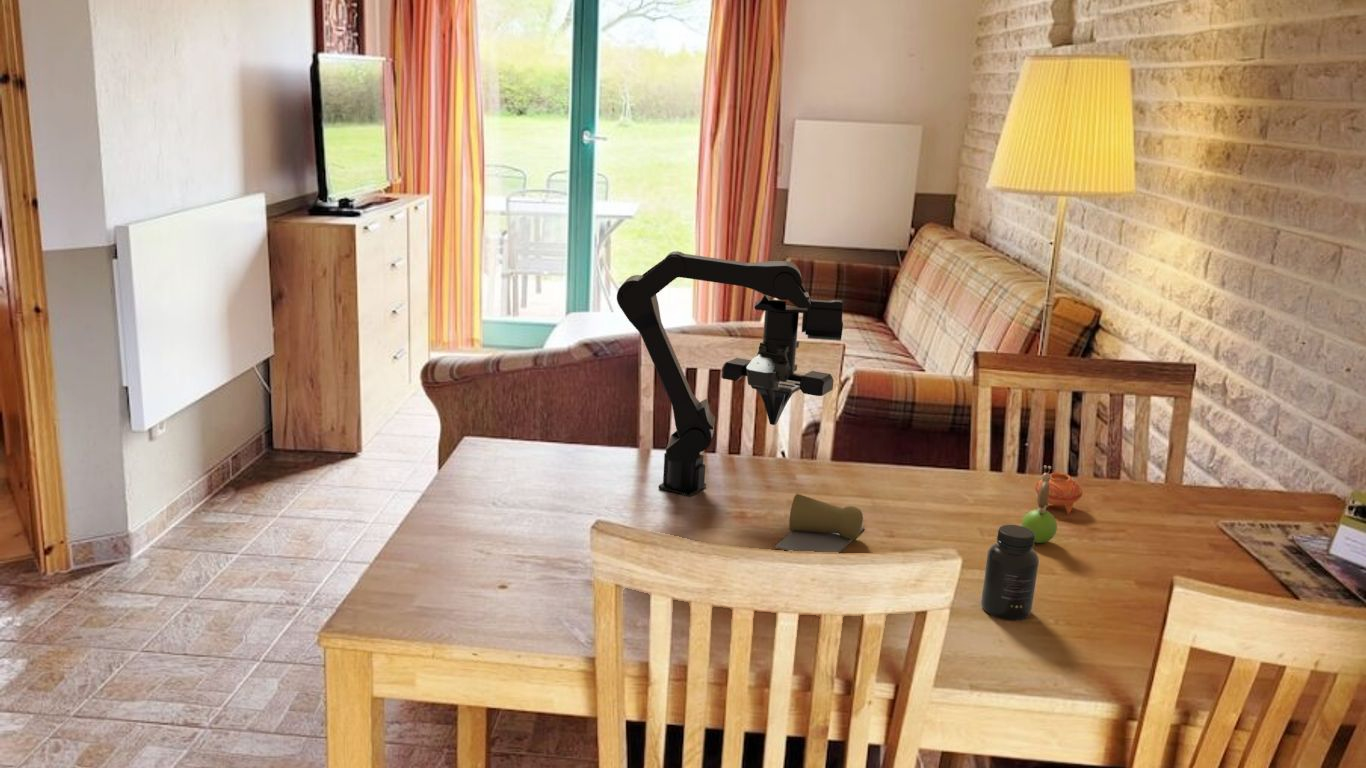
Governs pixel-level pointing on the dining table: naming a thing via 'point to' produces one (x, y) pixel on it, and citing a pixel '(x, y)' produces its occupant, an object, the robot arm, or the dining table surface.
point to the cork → (824, 517)
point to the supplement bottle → (1010, 574)
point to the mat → (814, 541)
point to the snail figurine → (1041, 514)
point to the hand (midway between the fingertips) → (773, 424)
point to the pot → (1062, 490)
